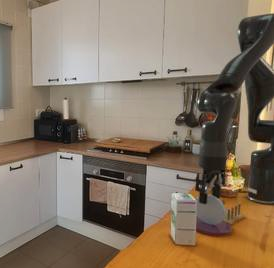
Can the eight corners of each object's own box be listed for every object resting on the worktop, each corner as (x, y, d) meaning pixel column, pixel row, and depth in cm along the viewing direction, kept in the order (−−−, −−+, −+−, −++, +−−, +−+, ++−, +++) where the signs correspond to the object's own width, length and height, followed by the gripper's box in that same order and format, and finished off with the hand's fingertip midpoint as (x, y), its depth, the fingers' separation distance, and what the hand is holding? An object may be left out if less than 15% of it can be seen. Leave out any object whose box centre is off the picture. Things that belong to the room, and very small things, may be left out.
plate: (194, 217, 97) (195, 190, 96) (225, 228, 89) (227, 199, 87) (192, 218, 96) (193, 191, 95) (223, 229, 88) (225, 199, 87)
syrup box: (196, 246, 81) (198, 200, 79) (174, 244, 83) (176, 199, 80) (189, 236, 87) (191, 193, 85) (169, 235, 88) (171, 192, 86)
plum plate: (198, 214, 102) (198, 211, 101) (238, 228, 91) (239, 225, 90) (178, 224, 95) (178, 221, 95) (219, 240, 84) (219, 237, 84)
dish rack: (220, 210, 105) (221, 197, 104) (243, 217, 98) (245, 204, 98) (206, 217, 99) (207, 204, 99) (230, 225, 93) (231, 211, 92)
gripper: (214, 158, 82) (210, 209, 85) (236, 152, 89) (232, 199, 92) (189, 154, 88) (186, 202, 91) (211, 148, 96) (208, 192, 98)
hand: (209, 200), depth 91 cm, fingers open, 8 cm apart
